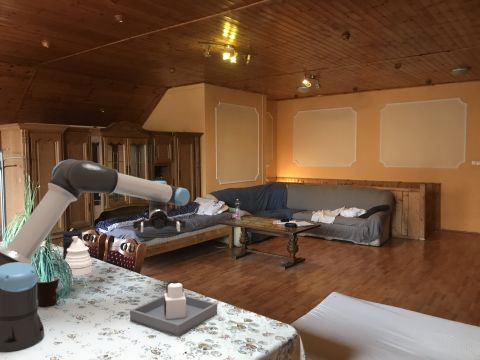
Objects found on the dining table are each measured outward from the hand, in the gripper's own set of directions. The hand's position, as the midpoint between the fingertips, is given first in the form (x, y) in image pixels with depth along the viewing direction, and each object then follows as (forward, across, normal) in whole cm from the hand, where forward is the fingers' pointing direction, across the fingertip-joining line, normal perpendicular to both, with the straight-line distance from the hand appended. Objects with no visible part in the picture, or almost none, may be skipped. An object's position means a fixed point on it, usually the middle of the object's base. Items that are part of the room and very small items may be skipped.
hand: (160, 228), depth 149 cm
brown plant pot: (-15, +42, -32) cm, 55 cm away
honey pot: (-55, +38, -31) cm, 74 cm away
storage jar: (-80, +44, -31) cm, 96 cm away
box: (+9, -5, -31) cm, 33 cm away
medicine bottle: (+9, -5, -30) cm, 32 cm away
